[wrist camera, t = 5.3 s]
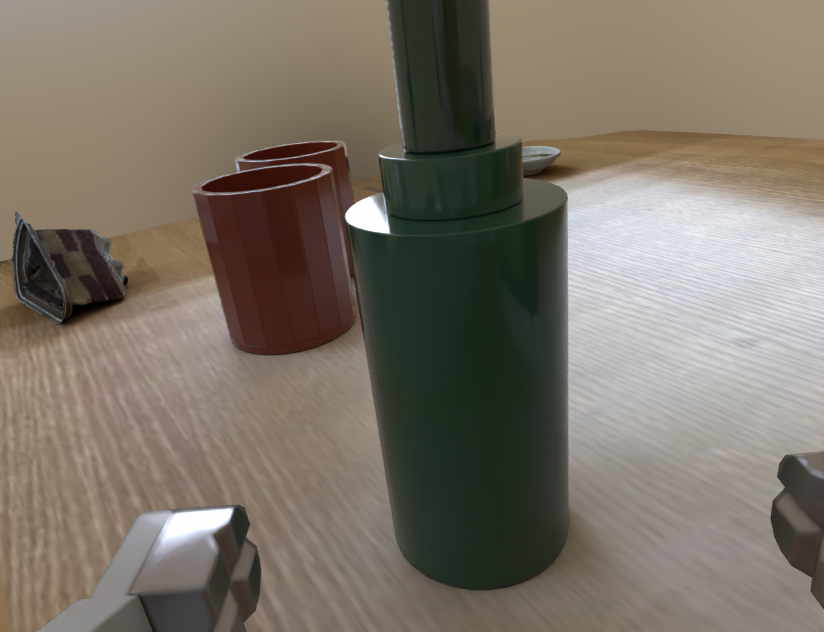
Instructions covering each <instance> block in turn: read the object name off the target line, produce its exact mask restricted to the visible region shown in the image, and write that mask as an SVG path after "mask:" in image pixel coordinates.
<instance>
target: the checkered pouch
mask: <svg viewBox="0 0 824 632" xmlns="http://www.w3.org/2000/svg"><path fill="white" fill-rule="evenodd" d="M15 216H16V219H15V220H16V221H15V222H16V224H17V226H16V232H15V233H14V241H13V248H14V250H13V256H12V259H11V261H13V265H14V267H13V281H14V289H15V290H14V291H15V294H16V296H17V299H18V300H19V301H21V302H22V304H24V303H25V304H26V306H28V307H30V308H32V309H34V311H36V312H37V313H39V314H42V315H44V316H46V317H47V318H48V319H50V320H51V321H53V322H54V323H55V324H58V323H59V324H60V323H61V322H62V320H63V319H64V318H67V317H70V315H71V313H72V305H85V304H88V303H98V302H101V301H108V300H117V299H123V298H124V295H125V294H126V290H125V287H124V286H123V285H126V284H127V283H128V277H126V276H124V275H123V274H122V268H123V267H124V266H123V263H122V262H121V261H118V260H114V259H113V258H112V256H111V254H110V246H111V243H112V241H111V240H110V239H107V238H104V237H100V236H99V234H98V233H97V232H96V231H94V230H80V229H79V230H75V229H74V230H68V229H59V230H52V229H51V230H50V229H49V230H48V229H46V230H34V229H33V228H32V226H31V225H30V224H27V223H25V222H24V221H23V220H22V218H21V217H20V215H19V214H18V213H17V212H15Z"/></svg>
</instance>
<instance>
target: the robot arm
mask: <svg viewBox="0 0 824 632" xmlns="http://www.w3.org/2000/svg"><path fill="white" fill-rule="evenodd" d="M777 478H778V479H779V480H780V481H781V483H782V484H783V485H784V487H785V489H784V490H783V491H782V492H781V493H780V494H779V495H778V496H777V497H776V498H775V499H774V500H773V503H772V511H771V523H772V528H773V533H774V537H775V540H776V542H777V544H778V546H779V548H780V550H781V552H782V553H783V555H784V556H785V558H786V559H787V560H788V562H789V563H790V565H791V566H793V567H794V568H796V569H798V570H800V571H801V572H803V573H805V574H807V575H808V576H810V577H812V581H811V591H810V592H811V593H812V594H813V596H814V597H815V598H816V600H817V601H818V602H819V604H820V605H821V606H822V608H823V609H824V451H821V452H810V453H800V454H790V455H785V456H784V458H783V459H782V461H781V462H780V464H779V469H778V474H777ZM249 526H250V522H249V519H248V516H247V513H246V510H245V508H244V507H243V506H241V505H239V504H238V505H223V506H208V507H194V508H179V509H176V510H158V511H145V512H144V513H142V514H141V515H139V516H138V517H137V518H136V520H135V521H134V523H133V525H132V526H131V528H130V530H129V531H128V533H127V535H126V537H125V538H124V540H123V542H122V543H121V545H120V547H119V549H118V550H117V552H116V554H115V555H114V557H113V559H112V560H111V562H110V564H109V566H108V567H107V569H106V571H105V572H104V574H103V576H102V578H101V579H100V581H99V583H98V584H97V586H96V588H95V590H94V591H93V593H92V595H91V596H90V598H89V599H83V600H78V601H77V602H75V603H74V604H73V605H71V606H70V607H69V608H67V609H66V610H65V611H63V612H62V613H61V614H59V615H58V616H57V617H55V618H54V619H53V620H51V621H50V622H49V623H47V624H46V625H45V626H44V627H42V628H41V629H40V630H38V631H37V632H246V628H245V625H244V622H245V621H246V620H247V619H248V618H249V617H250V616H251V615H252V614H253V613H254V612H255V611H256V607H257V603H258V599H259V595H260V586H261V565H260V558H259V554H258V550H257V546H256V545H254V544H253V543H252V542H251V541H249V540H248V539H247V538H246V535H247V532H248V529H249Z"/></svg>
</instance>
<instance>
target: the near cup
mask: <svg viewBox="0 0 824 632" xmlns="http://www.w3.org/2000/svg"><path fill="white" fill-rule="evenodd" d="M191 191H192V195H193V199H194V203H195V206H196V210H197V214H198V218H199V222H200V226H201V229H202V233H203V237H204V241H205V245H206V248H207V252H208V256H209V260H210V264H211V267H212V271H213V275H214V279H215V283H216V286H217V290H218V294H219V298H220V301H221V305H222V309H223V313H224V317H225V320H226V324H227V328H228V331H229V334H230V338H231V341H232V343H233V345H234V346H235V347H237V348H238V349H240V350H242V351H245V352H249V353H254V354H264V355H274V354H286V353H293V352H298V351H302V350H306V349H310V348H313V347H317V346H319V345H322V344H325V343H327V342H329V341H331V340H333V339H335V338H337V337H339V336H340V335H342V334H343V333H345V332H346V331H347V330H348V329H349V328H350V327H351V326H352V325H353V323H354V321H355V309H354V307H355V303H354V297H353V291H352V284H351V278H350V272H349V266H348V260H347V254H346V248H345V241H344V235H343V229H342V223H341V217H340V211H339V205H338V199H337V192H336V186H335V180H334V174H333V168H332V167H330V166H328V165H326V164H315V163H298V164H284V165H275V166H266V167H260V168H254V169H248V170H243V171H238V172H234V173H229V174H225V175H221V176H217V177H214V178H211V179H208V180H206V181H203V182H200V183H198V184H197V185H195V186H194V187H192V188H191Z"/></svg>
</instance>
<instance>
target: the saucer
mask: <svg viewBox="0 0 824 632" xmlns="http://www.w3.org/2000/svg"><path fill="white" fill-rule="evenodd" d="M560 155H561V151H560V150H559V149H557V148H554V147H545V146H531V147H522V159H523V176H528V175H534V174H537V173H540V172H542V170H543V168H545V167H548V166H549V165H551V164H552V163H553V162H554V161H555V160H556V159H557V158H558V157H559V156H560Z"/></svg>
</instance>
